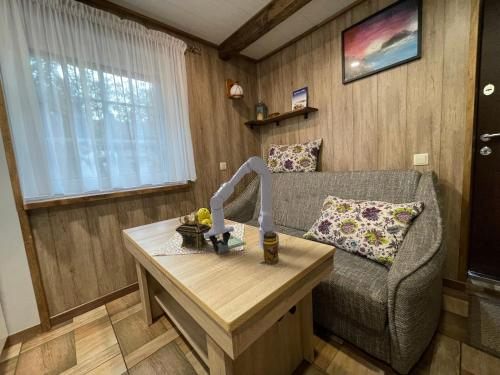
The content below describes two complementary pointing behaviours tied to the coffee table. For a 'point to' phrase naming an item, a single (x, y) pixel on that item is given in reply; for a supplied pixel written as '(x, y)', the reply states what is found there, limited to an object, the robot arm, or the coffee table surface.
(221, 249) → the grey open box
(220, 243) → the tan rectangular block
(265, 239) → the condiment
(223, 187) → the robot arm
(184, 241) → the decorative box
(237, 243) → the tray
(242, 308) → the coffee table surface
